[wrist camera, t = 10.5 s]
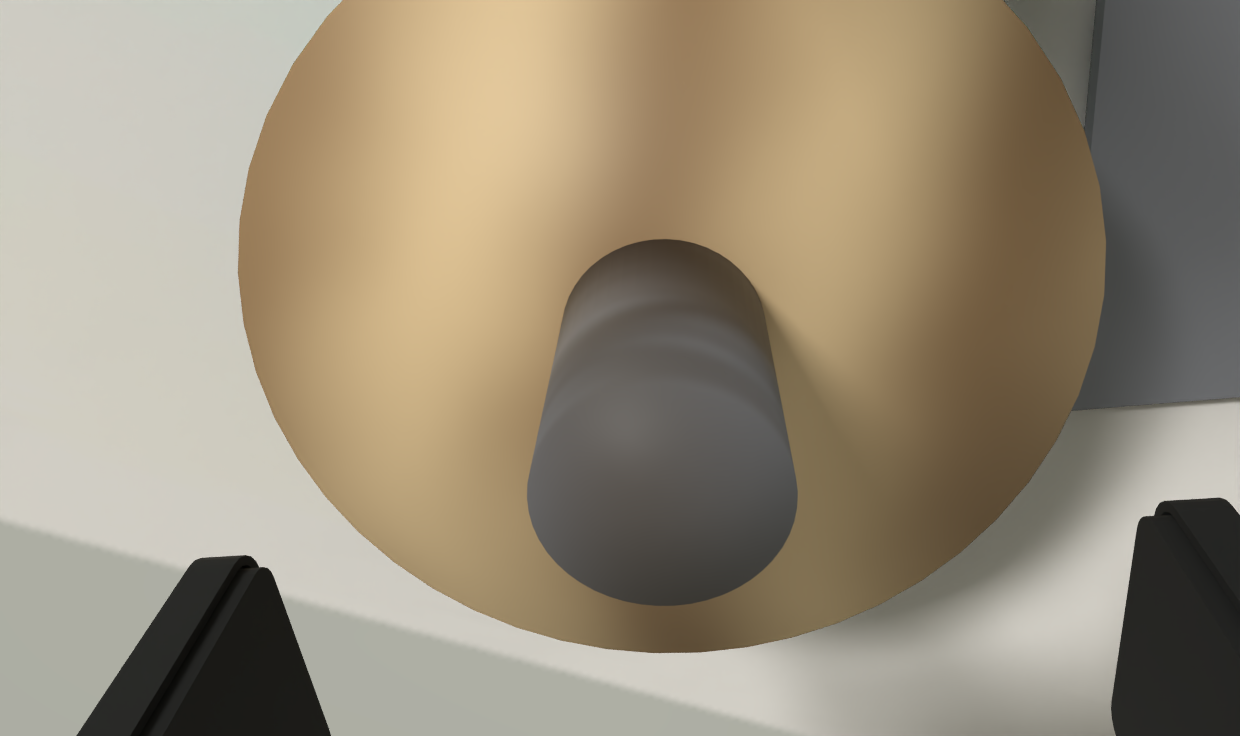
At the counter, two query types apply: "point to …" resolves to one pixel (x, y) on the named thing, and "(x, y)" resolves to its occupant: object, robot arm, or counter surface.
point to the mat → (1166, 201)
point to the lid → (671, 298)
